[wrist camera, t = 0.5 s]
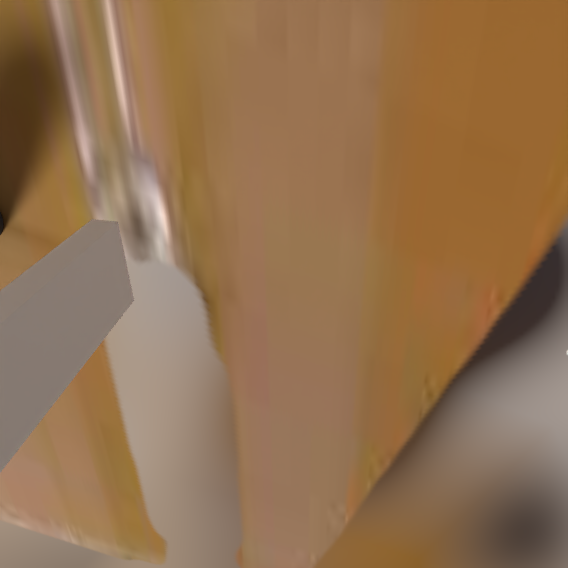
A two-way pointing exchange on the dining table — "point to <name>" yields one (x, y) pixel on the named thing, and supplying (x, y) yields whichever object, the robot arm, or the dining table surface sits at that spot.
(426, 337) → the dining table surface
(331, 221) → the dining table surface
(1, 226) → the travel mug
